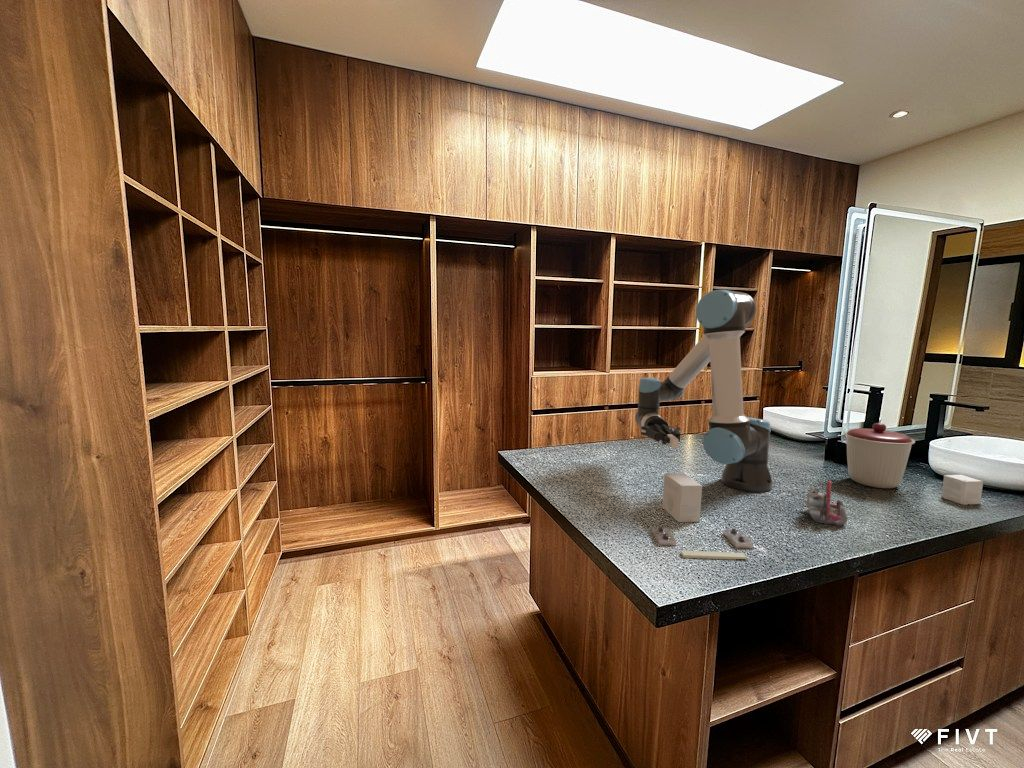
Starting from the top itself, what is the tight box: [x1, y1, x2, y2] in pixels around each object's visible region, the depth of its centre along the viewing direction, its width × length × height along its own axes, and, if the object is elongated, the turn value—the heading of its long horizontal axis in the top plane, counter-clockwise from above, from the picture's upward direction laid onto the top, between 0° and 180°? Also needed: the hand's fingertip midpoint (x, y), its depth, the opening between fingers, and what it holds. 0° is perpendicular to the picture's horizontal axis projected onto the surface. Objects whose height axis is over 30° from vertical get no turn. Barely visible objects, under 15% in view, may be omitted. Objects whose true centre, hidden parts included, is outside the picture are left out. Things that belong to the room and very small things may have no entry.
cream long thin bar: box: [680, 550, 748, 561], centre depth 97 cm, size 14×2×1 cm, turn 86°
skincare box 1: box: [661, 472, 703, 523], centre depth 119 cm, size 10×6×10 cm, turn 5°
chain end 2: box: [722, 528, 754, 549], centre depth 104 cm, size 4×7×2 cm, turn 176°
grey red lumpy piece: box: [803, 480, 848, 526], centre depth 116 cm, size 11×11×12 cm
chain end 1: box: [651, 526, 677, 546], centre depth 105 cm, size 4×7×2 cm, turn 176°
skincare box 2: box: [941, 474, 984, 506], centre depth 129 cm, size 6×6×7 cm
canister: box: [843, 422, 916, 489], centre depth 143 cm, size 18×18×21 cm
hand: (675, 444), depth 124 cm, fingers closed
